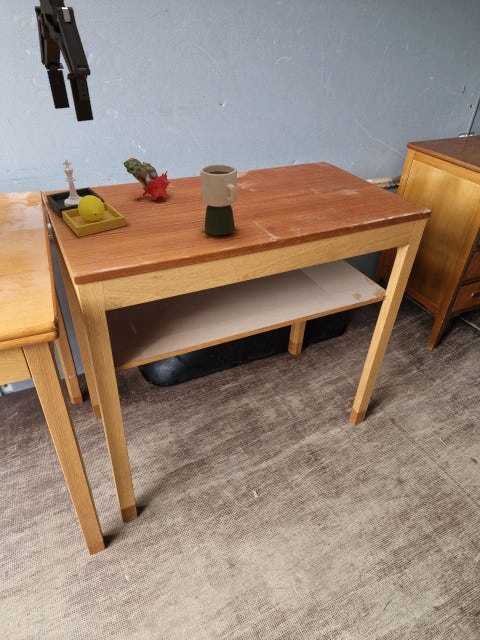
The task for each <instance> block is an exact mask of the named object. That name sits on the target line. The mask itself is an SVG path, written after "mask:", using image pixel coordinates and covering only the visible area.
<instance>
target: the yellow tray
mask: <svg viewBox="0 0 480 640" xmlns="http://www.w3.org/2000/svg"><path fill="white" fill-rule="evenodd" d="M103 204H104V209H105V212H104V215H103V217H102V218H101V219H100V220H99V221H94V222H90V221H87V220H85V219H84V218H83V217H82V216H81V215H80V213H79V211H78V208H77V209H72V210H67V211H62V216H63V217H62V219H63V221H64V223H65V224H66V225H67V226H68V227H69V228H70V229H71V230H72V231H73V233H75V234H76V236H77V237H79V238H80V237H84V236H88V235H92V234H97V233H100V232H101V233H102V232H105V231H109V230H113V229H119V228H123V227H125V226H127V224H126V217H125V216H124V215H123V214H122V213H120V212H119V211H118V210H117V209H116V208H114V207H113V206H112V205H111V204H110V203H109V202H104V203H103Z"/></svg>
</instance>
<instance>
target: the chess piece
mask: <svg viewBox="0 0 480 640" xmlns="http://www.w3.org/2000/svg"><path fill="white" fill-rule="evenodd" d="M62 165H63V166H65V167H64V168H63V172H64V174H65V176H66V178H65V182H68V188H69V191H70V196H69V198H68V199H66V200H65V201H64V203H65V204H64V205H65V206H71V205H76V204H78V203H79V201H80V200H81V198H83V197H79V195H77V192H76V190H77V189H76V186H75V183H74V182H75V181H76V178H75V177H74V176H73V172H74V168H73V167H71V165H72V162H70V161H69V160H68V159H64V161H63V162H62Z"/></svg>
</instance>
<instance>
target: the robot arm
mask: <svg viewBox="0 0 480 640" xmlns="http://www.w3.org/2000/svg"><path fill="white" fill-rule="evenodd" d="M34 12H35V17H36V22H37V33H38V41H39V50H40V62H41V64H42V65H43V66H44V68H45V70H46V74H47V79H48V83H49V88H50V92H51V96H52V102H53V106H54V109H55V110H59V109H60V110H61V109H70V108H71V107H70V101H69V97H68V91H67V86H66V80H67V81H69V85H70V90H71V96H72V102H73V106H74V111H75V116H76V121H77V122H87V121H94V114H93V108H92V102H91V96H90V91H89V85H88V80H87V79H88V76H91V74H92V73H91V69H90V65H89V63H88V59H87V56H86V51H85V49H84V45H83V42H82V40H81V35H80V33H79V29H78V25H77V21H76V16H75V10H74V8H73V7H72V6H66V5H65V0H39V5H35V6H34ZM61 55H62V57H63V60H64V62H65V66H66V68H67V70H68V73H67V74H66V80H65V76H64V69H65V67H64V65H63V63H62V62H61Z"/></svg>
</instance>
